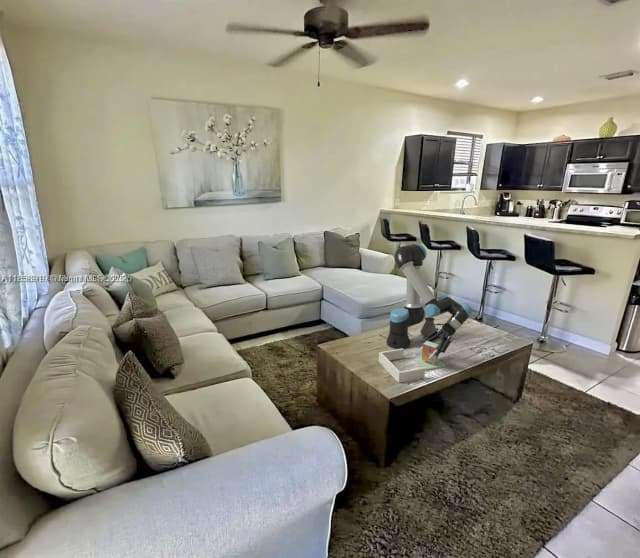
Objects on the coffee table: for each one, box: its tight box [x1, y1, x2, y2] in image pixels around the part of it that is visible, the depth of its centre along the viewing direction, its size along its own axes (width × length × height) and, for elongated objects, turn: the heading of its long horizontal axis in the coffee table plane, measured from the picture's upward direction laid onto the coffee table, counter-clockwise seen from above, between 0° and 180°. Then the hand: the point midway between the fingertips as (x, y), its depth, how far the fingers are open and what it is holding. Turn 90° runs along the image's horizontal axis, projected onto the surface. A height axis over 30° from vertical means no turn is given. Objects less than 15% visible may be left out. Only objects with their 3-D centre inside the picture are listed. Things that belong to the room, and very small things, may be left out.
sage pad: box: [413, 357, 447, 372], centre depth 209 cm, size 12×14×1 cm
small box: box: [421, 340, 440, 364], centre depth 207 cm, size 8×6×10 cm
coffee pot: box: [419, 316, 445, 339], centre depth 239 cm, size 21×12×15 cm, turn 20°
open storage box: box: [378, 348, 426, 384], centre depth 203 cm, size 24×16×6 cm, turn 17°
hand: (425, 354), depth 207 cm, fingers closed on small box, 9 cm apart
